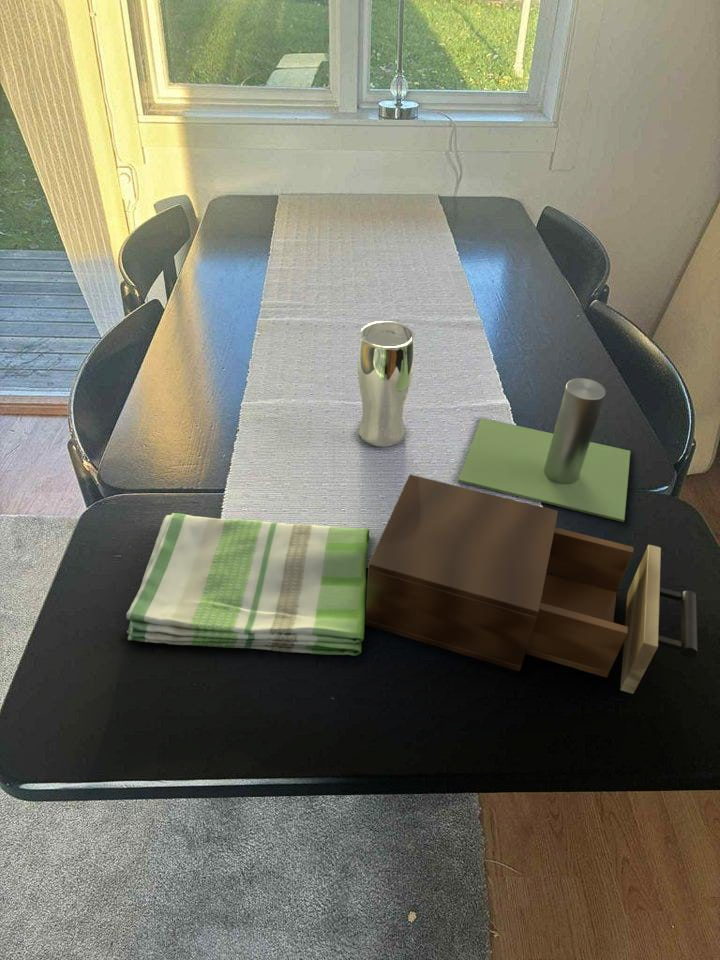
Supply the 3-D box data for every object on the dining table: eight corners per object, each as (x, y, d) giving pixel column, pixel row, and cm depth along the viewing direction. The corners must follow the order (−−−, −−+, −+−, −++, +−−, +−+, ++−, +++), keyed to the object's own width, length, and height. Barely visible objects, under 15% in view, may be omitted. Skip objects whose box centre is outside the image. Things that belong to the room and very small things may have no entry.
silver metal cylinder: (580, 466, 89) (607, 382, 81) (577, 487, 86) (604, 402, 78) (546, 458, 90) (568, 375, 82) (541, 479, 87) (564, 394, 79)
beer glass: (417, 433, 94) (428, 334, 84) (383, 456, 90) (389, 355, 81) (379, 411, 98) (385, 314, 88) (344, 432, 94) (346, 333, 84)
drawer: (680, 606, 72) (705, 558, 67) (680, 708, 63) (709, 661, 58) (501, 558, 76) (513, 510, 71) (477, 648, 67) (489, 599, 63)
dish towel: (168, 523, 80) (164, 500, 78) (369, 533, 80) (370, 510, 77) (124, 648, 67) (117, 625, 65) (363, 661, 67) (364, 639, 65)
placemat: (629, 453, 93) (630, 450, 92) (623, 522, 82) (624, 520, 82) (481, 420, 97) (481, 417, 97) (458, 482, 87) (458, 479, 87)
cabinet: (540, 570, 76) (558, 510, 70) (519, 671, 67) (538, 611, 61) (403, 534, 80) (409, 473, 74) (364, 625, 70) (368, 563, 64)
